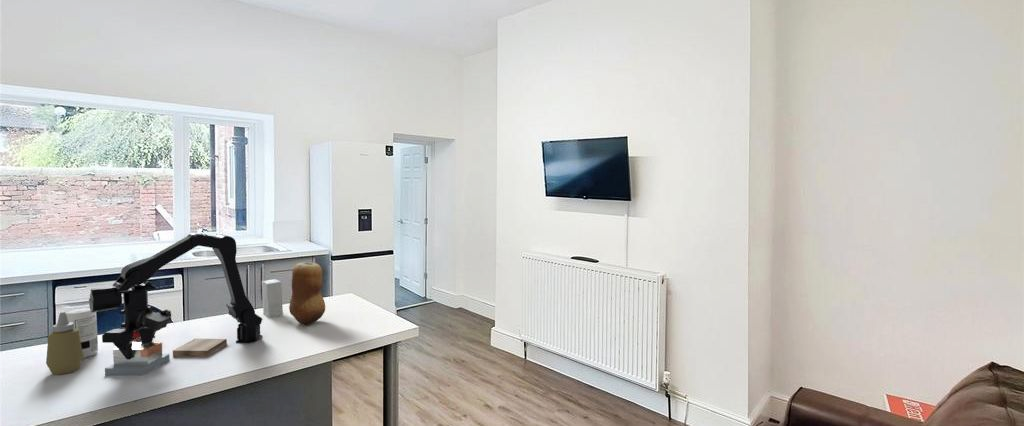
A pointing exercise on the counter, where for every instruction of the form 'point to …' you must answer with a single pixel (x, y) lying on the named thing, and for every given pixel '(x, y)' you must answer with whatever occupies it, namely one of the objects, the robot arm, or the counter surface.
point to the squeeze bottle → (64, 347)
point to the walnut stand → (200, 347)
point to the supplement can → (85, 329)
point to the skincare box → (272, 298)
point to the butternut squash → (307, 293)
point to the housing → (139, 354)
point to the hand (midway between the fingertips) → (138, 354)
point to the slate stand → (135, 367)
